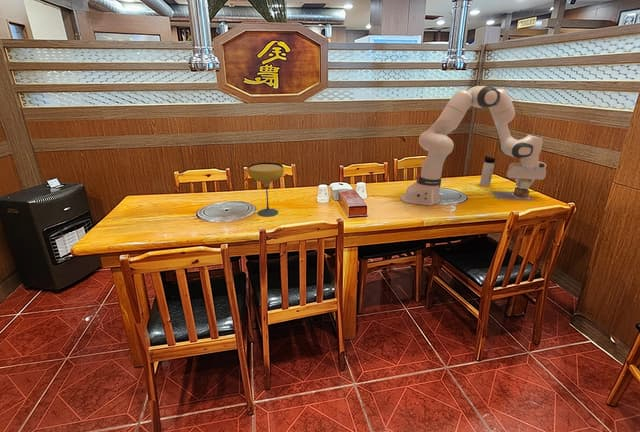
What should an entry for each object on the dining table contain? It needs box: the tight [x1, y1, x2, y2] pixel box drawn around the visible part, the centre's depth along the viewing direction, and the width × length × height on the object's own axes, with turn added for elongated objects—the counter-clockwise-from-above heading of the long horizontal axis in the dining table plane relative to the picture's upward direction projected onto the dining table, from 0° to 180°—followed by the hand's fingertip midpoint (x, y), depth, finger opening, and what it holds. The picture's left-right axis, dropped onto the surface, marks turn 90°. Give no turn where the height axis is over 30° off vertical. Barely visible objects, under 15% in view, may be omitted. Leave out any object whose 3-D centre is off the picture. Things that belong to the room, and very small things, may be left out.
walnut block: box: [513, 186, 530, 198], centre depth 207 cm, size 6×6×4 cm
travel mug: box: [479, 155, 496, 188], centre depth 224 cm, size 6×7×20 cm
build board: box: [489, 190, 534, 202], centre depth 209 cm, size 20×15×1 cm
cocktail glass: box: [247, 162, 285, 218], centre depth 178 cm, size 18×18×25 cm
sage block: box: [516, 179, 531, 190], centre depth 205 cm, size 5×5×4 cm
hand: (523, 185), depth 205 cm, fingers closed on sage block, 5 cm apart
